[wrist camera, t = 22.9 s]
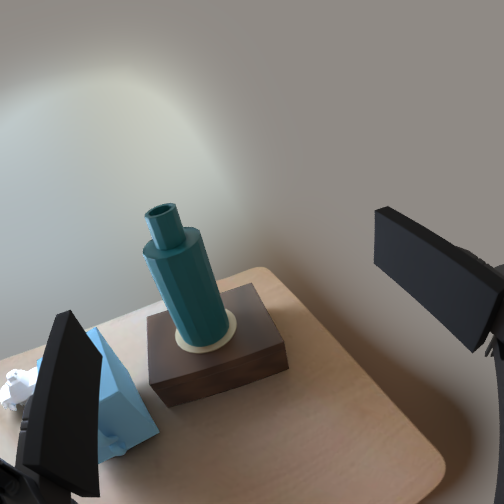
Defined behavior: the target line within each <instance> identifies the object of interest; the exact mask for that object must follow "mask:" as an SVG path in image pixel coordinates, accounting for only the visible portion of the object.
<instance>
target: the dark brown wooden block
mask: <svg viewBox="0 0 504 504" xmlns="http://www.w3.org/2000/svg"><path fill="white" fill-rule="evenodd" d="M220 296H221V299H222V302H223V305H224V308H225V311H226V314H227V317H228V319H229V329H228V331H227V333H226V334H225V336H224V337H223V338H222V339H220V340H219V341H218V342H216V343H214V344H212V345H209V346H204V347H195V346H191V345H189V344H187V343H186V342H185V341H184V340H183V338H182V337H181V335H180V333H179V331H178V329H177V327H176V325H175V323H174V321H173V319H172V317H171V315H170V313H169V311H168V310H167V311H164V312H161V313H158V314H154V315H151V316H148V317H147V351H148V371H149V385H150V386H151V387H152V389H153V390H154V391H155V392H156V394H157V395H158V396H159V397H160V399H161V400H162V401H163V402H164V403H165V405H166V406H167V407H171V406H175V405H179V404H183V403H186V402H190V401H194V400H197V399H201V398H204V397H208V396H211V395H214V394H217V393H221V392H224V391H227V390H230V389H233V388H236V387H239V386H242V385H245V384H248V383H251V382H254V381H257V380H259V379H262V378H265V377H268V376H270V375H273V374H276V373H278V372H281V371H283V370H286V369H288V368H289V366H288V361H287V355H286V350H285V344H284V341H283V339H282V337H281V335H280V333H279V332H278V330H277V328H276V326H275V324H274V322H273V321H272V319H271V317H270V315H269V313H268V312H267V310H266V308H265V306H264V304H263V302H262V301H261V299H260V297H259V295H258V293H257V291H256V290H255V288H254V286H253V284H252V283H249V284H246V285H243V286H240V287H237V288H234V289H231V290H228V291H225V292H222V293H220Z"/></svg>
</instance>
